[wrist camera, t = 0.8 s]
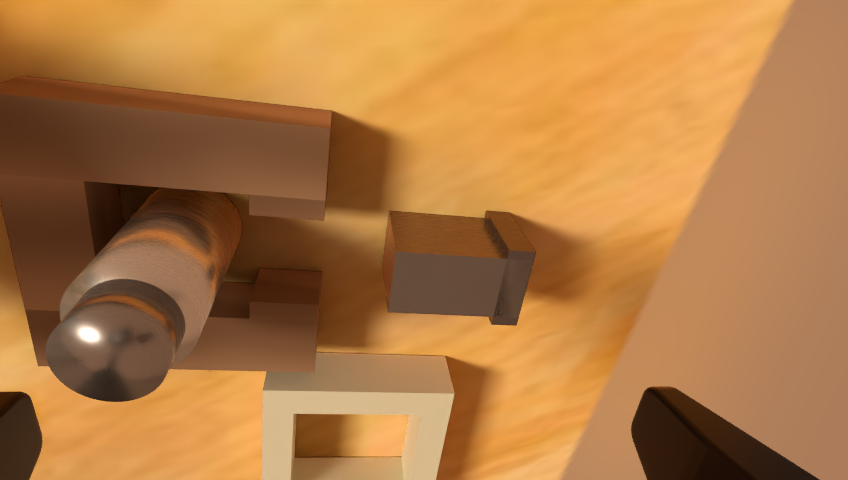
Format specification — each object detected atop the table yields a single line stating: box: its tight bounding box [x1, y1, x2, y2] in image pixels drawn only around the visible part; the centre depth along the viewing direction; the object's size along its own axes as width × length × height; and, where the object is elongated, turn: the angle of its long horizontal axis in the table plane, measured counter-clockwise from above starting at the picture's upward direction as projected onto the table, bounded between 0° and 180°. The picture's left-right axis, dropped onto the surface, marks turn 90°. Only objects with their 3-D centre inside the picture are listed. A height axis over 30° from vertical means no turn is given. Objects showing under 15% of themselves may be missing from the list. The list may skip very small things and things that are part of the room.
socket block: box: [0, 76, 332, 372], centre depth 19 cm, size 10×10×2 cm
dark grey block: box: [382, 211, 536, 325], centre depth 20 cm, size 3×5×4 cm, turn 82°
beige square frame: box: [262, 352, 455, 480], centre depth 24 cm, size 8×8×2 cm
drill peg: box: [46, 187, 242, 402], centre depth 17 cm, size 4×4×8 cm
